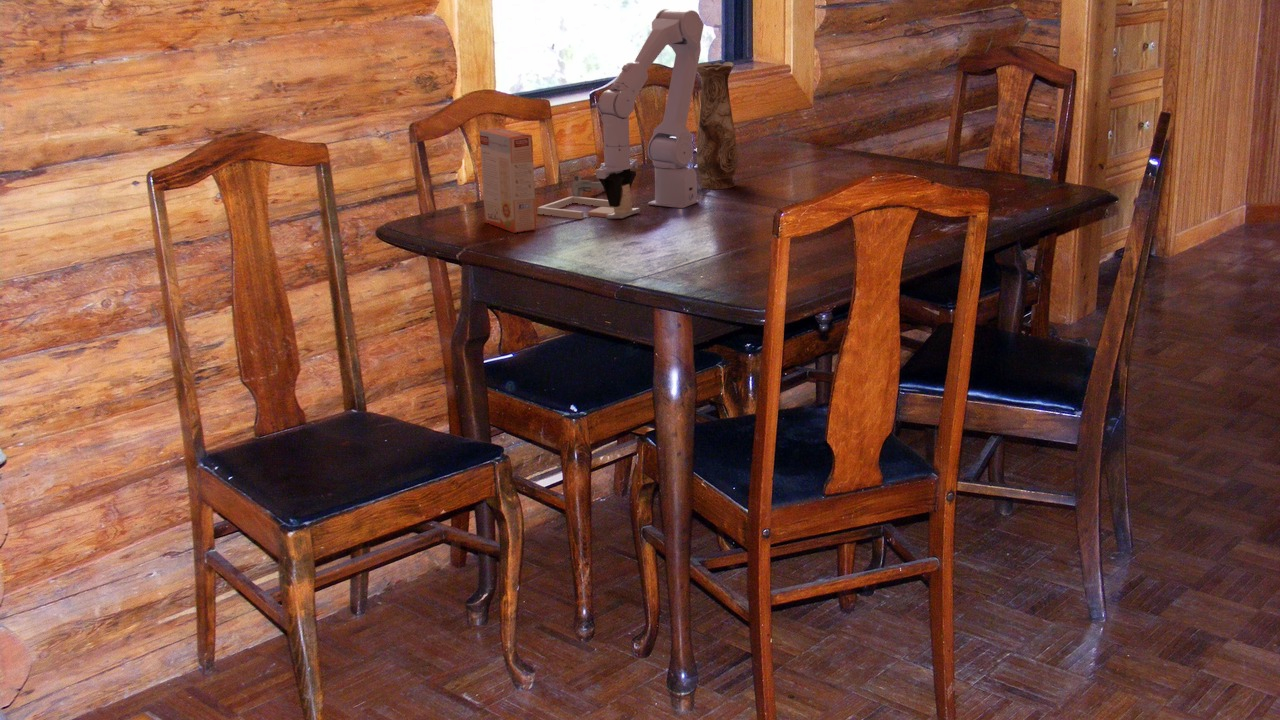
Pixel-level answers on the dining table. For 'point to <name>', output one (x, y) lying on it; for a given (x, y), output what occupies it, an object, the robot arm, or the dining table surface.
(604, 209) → the tile
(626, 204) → the scraper
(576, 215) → the frame
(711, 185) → the vase
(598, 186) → the caliper
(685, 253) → the dining table surface
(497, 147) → the cracker box
